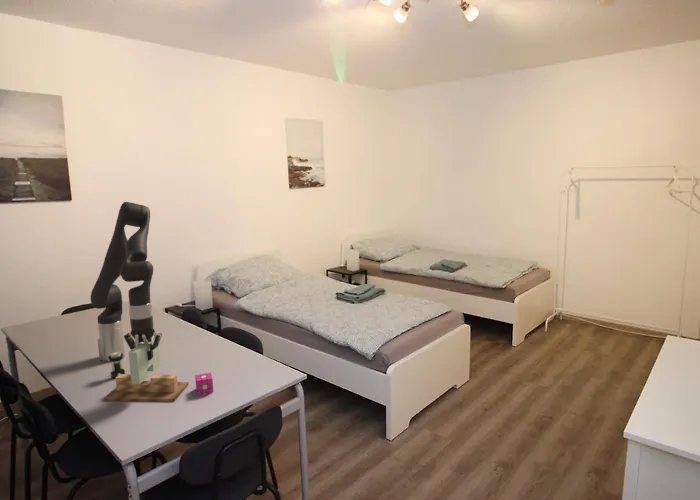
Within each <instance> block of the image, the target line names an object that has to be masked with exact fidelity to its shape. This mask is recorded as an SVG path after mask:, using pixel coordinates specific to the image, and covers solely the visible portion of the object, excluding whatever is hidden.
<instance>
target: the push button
mask: <svg viewBox="0 0 700 500" xmlns="http://www.w3.org/2000/svg"><path fill="white" fill-rule="evenodd" d="M108 358H109V360H110V361H109V362H110V363H111V371H110V372H109V373H110V375H108V376H106V377H107V380H111V379H112V380H116V377H117V376H118V375H119V374H126V373H125V369H124V368H123V366H122V364H123V363H122V360H123V359H124V357H123V354H122V353H120V352H113V353H111V355H110V356H109V357H108Z"/></svg>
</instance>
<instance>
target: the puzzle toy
mask: <svg viewBox="0 0 700 500" xmlns="http://www.w3.org/2000/svg"><path fill="white" fill-rule="evenodd" d="M194 378H195V390H196V394H197V396H200V395H206V394H207V395H208V394H211V393H214V385H213V382H214V381H213V377H212V372H205V373H200V374H196V375H195V376H194Z"/></svg>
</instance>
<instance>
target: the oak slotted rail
mask: <svg viewBox="0 0 700 500" xmlns="http://www.w3.org/2000/svg"><path fill="white" fill-rule="evenodd" d="M149 379H150V380H144V381H143V382H141V383H140V384H132V383H131V373H129V374H127V373H125V374H119V375H118V376H117V377H116V378H115V388H114V389H112V391H111V392H109V393H108V394H106V396H104V397H103V401H108V402H109V401H110V402H111V401H112V402H117V401H118V402H176V400H177V399H178V398H179V397H180V395H181V394H182V393H183V392H184V391H185V389H186V388H187V387H188V386H189V382H187V381H178V374H153V375H152V376H151V377H150V378H149Z"/></svg>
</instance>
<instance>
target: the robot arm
mask: <svg viewBox="0 0 700 500" xmlns="http://www.w3.org/2000/svg"><path fill="white" fill-rule="evenodd" d="M150 221H151V210H150V208H149V207H148V206H146V205H143V204H139V203H135V202H130V201H124V202H122V203H121V205H120V207H119V211H118V213H117V219H116V222H115V227H114V230H113V235H112V237H111V240H110V243H109V245H108V247H107V248H108V249H107V250H106V251H107V252H106V254H105V257H104V260H103V264H102V267H101V270H100V273H99V275H98V277H97V279H96V281H95V284H94V285H93V287H92V290H91V292H90V304H91V305H92V307H94V309H104V310H103V311H102V312H101V313H100V314H99V315H97V326H98V337H99V338H98V339H97V348H98V357H99V361H103V362H111V361H110V360H109V358H108V357H109V356H110V355H111V353H113V352H120V353H122V354H123V358H125V356H126V355H125V354H126V353H125V344H124V340H125V342H126V343H127V345H128V348H129V349H130V351H131V350H132V349H134V348H135V347H136V346H137V345H139V344H140V343H142V342H144V343H145V345H146V348H147V357H148V360H151V359H152V358H153V350H154V349H155V348H157V347H158V344H160V342H161V338H162V335H163V334H162V333H161V332H159V333H158V332H156V331H155V329H154V317H153V307H152V302H151V283H152V280H153V275H154V265H153V264H152V263H151V262H150V261H149V260H148V261H147V258H148V247H147V245H148V235H149V229H150ZM126 226H130V227H135V228H139V229H137V231H135V232H134V233H133V234H132V235H131V236H130V237H129V238H127V235H126V231H125V227H126ZM120 277H121V279H122V280H123V281H124V282H126V283H132V282H141V281H142V283H141V284H140V285H137V286H134V287H131V288H130V289H129V290H128V303H129V309H128V311H129V312H128V313H129V321H130V329H131V331H130V332H128V333H126V334H125V335H124V333H123V320H122V315H123V295H122V291H121V289H120V288H119V286H118V285H117V284H114V283H115V282H116V280H118V279H119V278H120ZM152 336H154V339H155V340H154V343H153V344H152Z"/></svg>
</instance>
